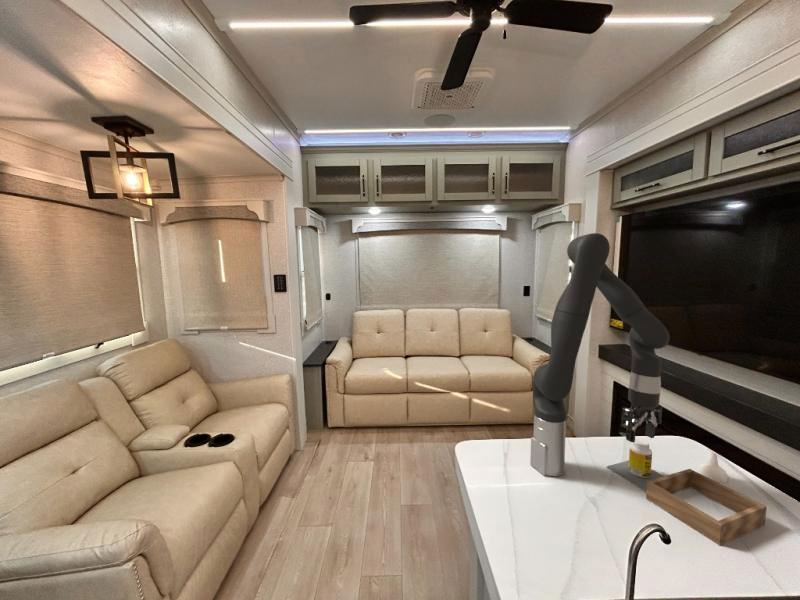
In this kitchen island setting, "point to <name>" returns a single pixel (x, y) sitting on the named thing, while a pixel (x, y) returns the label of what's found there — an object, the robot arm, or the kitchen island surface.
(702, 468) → the garlic bulb
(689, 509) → the crate frame
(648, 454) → the supplement bottle
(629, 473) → the mat
